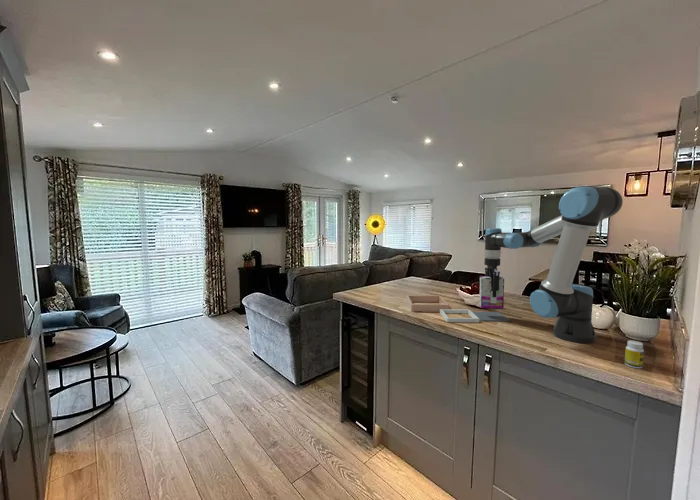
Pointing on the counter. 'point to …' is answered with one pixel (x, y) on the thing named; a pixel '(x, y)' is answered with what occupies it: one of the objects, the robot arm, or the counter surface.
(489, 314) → the mat
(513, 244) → the robot arm
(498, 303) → the candy bar box
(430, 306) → the pinkish tan tray
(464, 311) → the grey square frame
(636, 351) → the supplement bottle
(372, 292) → the counter surface
